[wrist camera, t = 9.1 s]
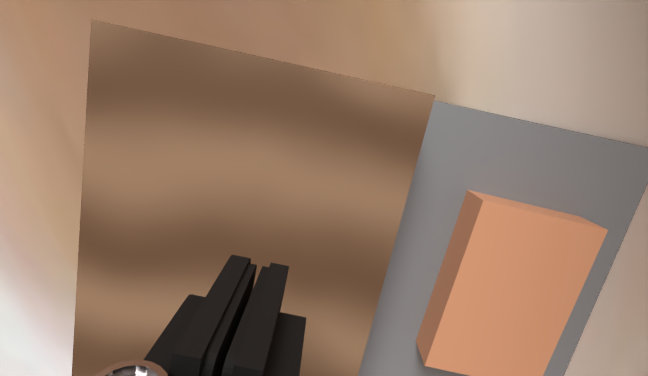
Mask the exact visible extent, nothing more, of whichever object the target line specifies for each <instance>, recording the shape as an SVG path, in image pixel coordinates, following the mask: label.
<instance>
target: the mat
mask: <svg viewBox="0 0 648 376" xmlns="http://www.w3.org/2000/svg"><path fill="white" fill-rule="evenodd" d="M647 183H648V148H647V147H642V146H638V145H633V144H629V143H624V142H620V141H615V140H611V139H606V138H602V137H597V136H593V135H588V134H583V133H579V132H574V131H570V130H565V129H561V128H556V127H552V126H547V125H543V124H538V123H534V122H529V121H525V120H520V119H516V118H511V117H506V116H502V115H497V114H493V113H488V112H484V111H479V110H475V109H470V108H466V107H461V106H457V105H452V104H448V103H443V102H439V101H434V102H433V106H432V110H431V113H430V117H429V120H428V124H427V128H426V131H425V135H424V138H423V142H422V146H421V149H420V153H419V156H418V160H417V164H416V167H415V171H414V175H413V178H412V182H411V185H410V189H409V193H408V196H407V200H406V203H405V207H404V211H403V214H402V218H401V222H400V225H399V229H398V232H397V236H396V240H395V243H394V247H393V250H392V254H391V258H390V261H389V265H388V268H387V272H386V276H385V279H384V283H383V287H382V290H381V294H380V297H379V301H378V305H377V308H376V312H375V315H374V319H373V323H372V326H371V330H370V334H369V337H368V341H367V344H366V348H365V352H364V355H363V359H362V362H361V366H360V370H359V373H358V376H469V375H465V374H460V373H455V372H451V371H446V370H441V369H437V368H432V367H427V366H425V365H424V363H423V360H422V357H421V354H420V351H419V349H418V346H417V343H416V338H417V336H418V333H419V330H420V327H421V324H422V321H423V318H424V315H425V312H426V309H427V306H428V303H429V300H430V297H431V294H432V292H433V289H434V286H435V283H436V280H437V277H438V274H439V271H440V268H441V265H442V262H443V259H444V256H445V253H446V250H447V248H448V245H449V242H450V239H451V236H452V233H453V230H454V227H455V224H456V221H457V218H458V215H459V212H460V209H461V206H462V204H463V201H464V198H465V195H466V192H467V190H470V191H474V192H479V193H483V194H487V195H491V196H496V197H500V198H504V199H508V200H513V201H517V202H521V203H525V204H529V205H534V206H538V207H542V208H546V209H551V210H555V211H559V212H563V213H567V214H572V215H576V216H580V217H582V218H584V219H586V220H588V221H590V222H592V223H595V224H597V225H599V226H601V227H603V228H605V229H607V230H608V232H607V234H606V236H605V238H604V241H603V243H602V245H601V247H600V250H599V252H598V254H597V256H596V259H595V261H594V263H593V265H592V267H591V270H590V272H589V274H588V276H587V279H586V281H585V283H584V285H583V287H582V290H581V292H580V294H579V296H578V299H577V301H576V303H575V305H574V308H573V310H572V312H571V314H570V316H569V319H568V321H567V323H566V325H565V328H564V330H563V332H562V334H561V336H560V339H559V341H558V343H557V345H556V348H555V350H554V352H553V354H552V356H551V359H550V361H549V363H548V365H547V368H546V370H545V372H544V374H543V376H564V374H565V371H566V369H567V367H568V364H569V362H570V360H571V357H572V355H573V353H574V351H575V348H576V346H577V344H578V341H579V339H580V337H581V335H582V332H583V330H584V328H585V325H586V323H587V321H588V319H589V316H590V314H591V312H592V309H593V307H594V305H595V303H596V300H597V298H598V296H599V293H600V291H601V289H602V286H603V284H604V282H605V280H606V277H607V275H608V273H609V270H610V268H611V266H612V264H613V261H614V259H615V257H616V254H617V252H618V250H619V248H620V245H621V243H622V241H623V238H624V236H625V234H626V232H627V229H628V227H629V225H630V222H631V220H632V218H633V215H634V213H635V211H636V209H637V206H638V204H639V202H640V199H641V197H642V195H643V193H644V190H645V188H646V186H647Z"/></svg>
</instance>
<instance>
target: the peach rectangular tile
mask: <svg viewBox="0 0 648 376" xmlns="http://www.w3.org/2000/svg"><path fill="white" fill-rule="evenodd" d="M607 232H608V230H607V229H605V228H603V227H601V226H599V225H597V224H595V223H592V222H590V221H588V220H586V219H584V218H582V217H580V216H576V215H572V214H567V213H563V212H559V211H555V210H551V209H546V208H542V207H538V206H534V205H529V204H525V203H521V202H517V201H513V200H508V199H504V198H500V197H496V196H491V195H487V194H483V193H479V192H474V191H470V190H467V192H466V195H465V198H464V201H463V204H462V206H461V209H460V212H459V215H458V218H457V221H456V224H455V227H454V230H453V233H452V236H451V239H450V242H449V245H448V248H447V250H446V253H445V256H444V259H443V262H442V265H441V268H440V271H439V274H438V277H437V280H436V283H435V286H434V289H433V292H432V294H431V297H430V300H429V303H428V306H427V309H426V312H425V315H424V318H423V321H422V324H421V327H420V330H419V333H418V336H417V338H416V343H417V346H418V349H419V351H420V354H421V357H422V360H423V363H424V365H425V366H427V367H432V368H437V369H441V370H446V371H451V372H455V373H460V374H465V375H469V376H543V374H544V372H545V370H546V368H547V365H548V363H549V361H550V359H551V356H552V354H553V352H554V350H555V348H556V345H557V343H558V341H559V339H560V336H561V334H562V332H563V330H564V328H565V325H566V323H567V321H568V319H569V316H570V314H571V312H572V310H573V308H574V305H575V303H576V301H577V299H578V296H579V294H580V292H581V290H582V287H583V285H584V283H585V281H586V279H587V276H588V274H589V272H590V270H591V267H592V265H593V263H594V261H595V259H596V256H597V254H598V252H599V250H600V247H601V245H602V243H603V241H604V238H605V236H606V234H607Z"/></svg>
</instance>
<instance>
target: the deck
mask: <svg viewBox="0 0 648 376" xmlns="http://www.w3.org/2000/svg"><path fill="white" fill-rule="evenodd" d="M434 99H435V95H431V94H426V93H422V92H417V91H413V90H408V89H404V88H399V87H395V86H390V85H386V84H381V83H377V82H372V81H368V80H363V79H359V78H354V77H350V76H345V75H341V74H336V73H332V72H327V71H322V70H318V69H313V68H309V67H304V66H300V65H295V64H291V63H286V62H282V61H277V60H273V59H268V58H264V57H259V56H255V55H250V54H246V53H241V52H237V51H232V50H228V49H223V48H219V47H214V46H209V45H205V44H200V43H196V42H191V41H187V40H182V39H178V38H173V37H169V36H164V35H160V34H155V33H151V32H146V31H142V30H137V29H133V28H128V27H124V26H119V25H115V24H110V23H106V22H101V21H97V20H92V19H91V34H90V52H89V71H88V89H87V107H86V126H85V144H84V162H83V180H82V199H81V217H80V235H79V253H78V272H77V290H76V308H75V326H74V345H73V363H72V376H95V375H96V374H98V373H99V372H100V371H102V370H103V369H105V368H107V367H109V366H111V365H113V364H115V363H119V362H123V361H127V360H144V358H145V357H146V355H147V354H148V352H149V351H150V349H151V348H152V347H153V345H154V344H155V342H156V341H157V339H158V338H159V336H160V335H161V334H162V332H163V331H164V329H165V328H166V326H167V325H168V324H169V322H170V321H171V319H172V318H173V316H174V315H175V313H176V312H177V311H178V309H179V308H180V306H181V305H182V303H183V302H184V300H185V299H186V298H187V297H188V295H190V294H193V295H198V296H203V297H206V295H207V294H208V292H209V290H210V289H211V287H212V285H213V284H214V282H215V281H216V279H217V277H218V276H219V274H220V272H221V271H222V269H223V267H224V266H225V264H226V262H227V261H228V259H229V257H230V256H231V255H237V256H242V257H247V258H251V264H256V265H257V269H256V275H255V280H254V285H255V283H256V280H257V278H258V275H259V273H260V270H261V268H262V266H266V267H269V266H270V263H271V262H272V263H276V264H281V265H286V266H289V271H288V276H287V281H286V286H285V291H284V295H283V300H282V305H281V310H280V312H282V313H287V314H292V315H297V316H302V317H306V326H305V334H304V342H303V350H302V359H301V367H300V375H299V376H358V373H359V370H360V366H361V362H362V359H363V355H364V352H365V348H366V344H367V341H368V337H369V334H370V330H371V326H372V323H373V319H374V315H375V312H376V308H377V305H378V301H379V297H380V294H381V290H382V287H383V283H384V279H385V276H386V272H387V268H388V265H389V261H390V258H391V254H392V250H393V247H394V243H395V240H396V236H397V232H398V229H399V225H400V222H401V218H402V214H403V211H404V207H405V203H406V200H407V196H408V193H409V189H410V185H411V182H412V178H413V175H414V171H415V167H416V164H417V160H418V156H419V153H420V149H421V146H422V142H423V138H424V135H425V131H426V128H427V124H428V120H429V117H430V113H431V110H432V106H433V102H434ZM253 288H254V286H253Z"/></svg>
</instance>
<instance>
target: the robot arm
mask: <svg viewBox="0 0 648 376" xmlns="http://www.w3.org/2000/svg"><path fill="white" fill-rule="evenodd" d="M256 269H257V265H256V264H251V258H247V257H242V256H237V255H231V256H230V257H229V259H228V261H227V262H226V264H225V266H224V267H223V269H222V271H221V272H220V274H219V276H218V277H217V279H216V281H215V282H214V284H213V285H212V287H211V289H210V290H209V292H208V294H207V295H206V297H203V296H198V295H193V294H190V295H188V297H187V298H186V299H185V300H184V302H183V303H182V305H181V306H180V308H179V309H178V311H177V312H176V313H175V315H174V316H173V318H172V319H171V321H170V322H169V324H168V325H167V326H166V328H165V329H164V331H163V332H162V334H161V335H160V336H159V338H158V339H157V341H156V342H155V344H154V345H153V347H152V348H151V349H150V351H149V352H148V354H147V355H146V357H145V358H144V360H127V361H123V362H119V363H115V364H113V365H111V366H109V367H107V368H105V369H103V370H102V371H100V372H99V373H98V374H96V375H95V376H299V375H300V367H301V359H302V350H303V342H304V334H305V326H306V317H302V316H297V315H292V314H287V313H282V312H280V310H281V305H282V300H283V295H284V291H285V286H286V281H287V276H288V271H289V266H286V265H281V264H276V263H272V262H271V263H270V266H269V267H266V266H262V268H261V270H260V273H259V275H258V278H257V280H256V283H255V285H254V280H255V275H256ZM253 286H254V288H253Z"/></svg>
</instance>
